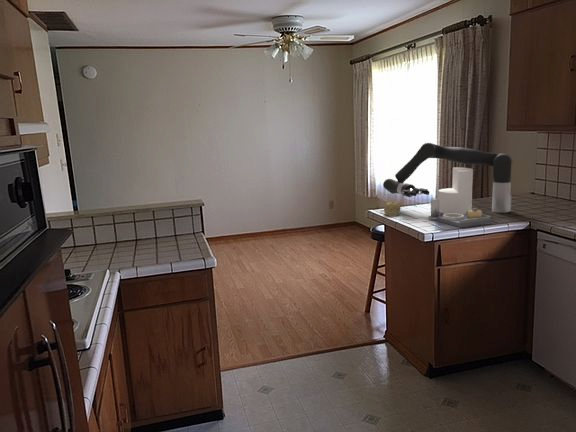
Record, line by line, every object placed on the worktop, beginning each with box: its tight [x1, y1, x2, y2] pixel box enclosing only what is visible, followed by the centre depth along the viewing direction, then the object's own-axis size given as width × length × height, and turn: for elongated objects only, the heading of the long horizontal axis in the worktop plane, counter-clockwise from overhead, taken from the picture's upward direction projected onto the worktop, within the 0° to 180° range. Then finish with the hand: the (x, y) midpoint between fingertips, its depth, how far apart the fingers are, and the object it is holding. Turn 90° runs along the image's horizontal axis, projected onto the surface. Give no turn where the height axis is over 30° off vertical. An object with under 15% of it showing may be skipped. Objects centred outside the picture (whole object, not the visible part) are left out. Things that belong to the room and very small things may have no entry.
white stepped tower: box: [437, 167, 474, 215], centre depth 276 cm, size 19×19×25 cm
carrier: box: [438, 207, 493, 228], centre depth 250 cm, size 20×18×8 cm
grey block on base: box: [428, 197, 442, 222], centre depth 259 cm, size 7×7×12 cm
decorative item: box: [383, 201, 402, 217], centre depth 278 cm, size 10×10×10 cm
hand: (422, 193), depth 268 cm, fingers open, 8 cm apart
